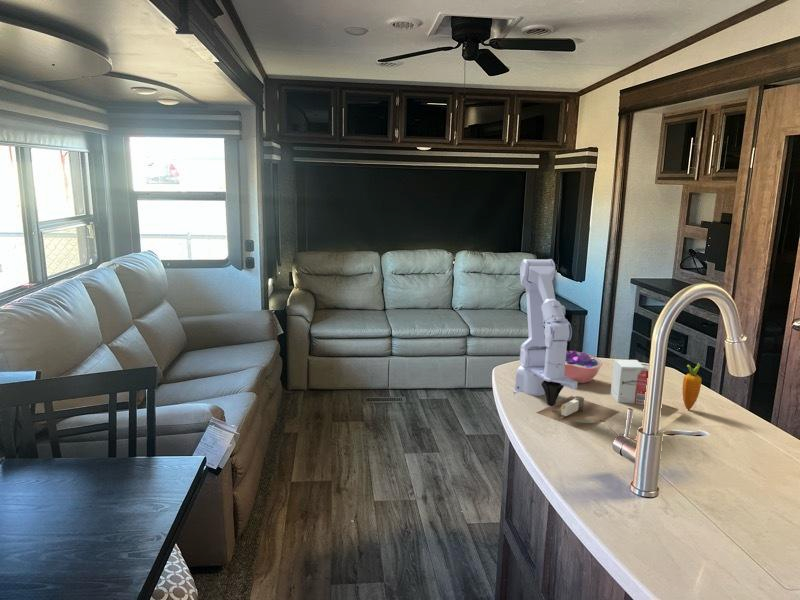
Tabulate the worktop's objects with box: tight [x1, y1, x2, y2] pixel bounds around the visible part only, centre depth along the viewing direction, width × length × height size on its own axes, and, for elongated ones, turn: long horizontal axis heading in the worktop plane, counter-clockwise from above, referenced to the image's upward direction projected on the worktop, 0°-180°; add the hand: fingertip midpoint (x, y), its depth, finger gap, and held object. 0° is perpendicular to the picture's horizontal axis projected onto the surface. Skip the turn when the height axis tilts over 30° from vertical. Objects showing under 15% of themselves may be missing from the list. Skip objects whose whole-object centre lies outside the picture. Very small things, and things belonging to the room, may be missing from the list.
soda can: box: [634, 363, 650, 406], centre depth 178 cm, size 7×7×12 cm
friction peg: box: [561, 395, 585, 416], centre depth 168 cm, size 3×11×4 cm, turn 133°
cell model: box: [564, 349, 603, 384], centre depth 197 cm, size 17×20×11 cm
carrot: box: [682, 363, 702, 411], centre depth 175 cm, size 5×5×15 cm
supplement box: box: [610, 359, 645, 404], centre depth 180 cm, size 7×7×13 cm
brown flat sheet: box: [536, 395, 620, 432], centre depth 169 cm, size 16×20×1 cm
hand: (551, 404), depth 171 cm, fingers closed
